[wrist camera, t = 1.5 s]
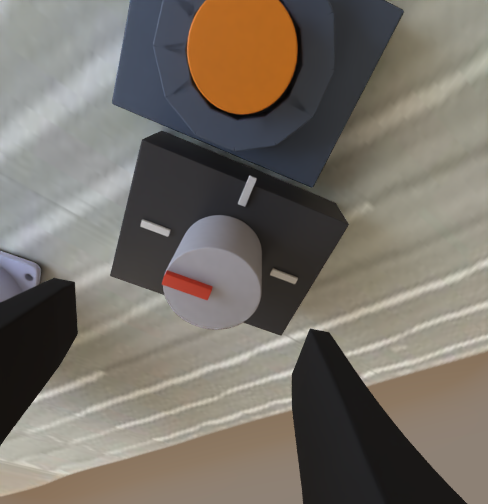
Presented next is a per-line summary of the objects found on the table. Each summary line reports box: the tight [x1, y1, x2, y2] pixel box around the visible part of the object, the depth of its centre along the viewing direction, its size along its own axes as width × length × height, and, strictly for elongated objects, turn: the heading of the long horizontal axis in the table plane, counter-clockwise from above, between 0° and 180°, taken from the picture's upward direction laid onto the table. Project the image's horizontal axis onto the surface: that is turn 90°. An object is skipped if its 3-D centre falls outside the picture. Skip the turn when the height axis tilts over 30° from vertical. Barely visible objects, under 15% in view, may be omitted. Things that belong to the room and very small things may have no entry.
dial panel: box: [110, 131, 349, 335], centre depth 17 cm, size 10×8×3 cm
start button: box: [187, 0, 298, 114], centre depth 11 cm, size 4×4×2 cm
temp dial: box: [162, 215, 262, 329], centre depth 14 cm, size 4×4×4 cm
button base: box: [112, 0, 404, 187], centre depth 13 cm, size 10×8×4 cm
